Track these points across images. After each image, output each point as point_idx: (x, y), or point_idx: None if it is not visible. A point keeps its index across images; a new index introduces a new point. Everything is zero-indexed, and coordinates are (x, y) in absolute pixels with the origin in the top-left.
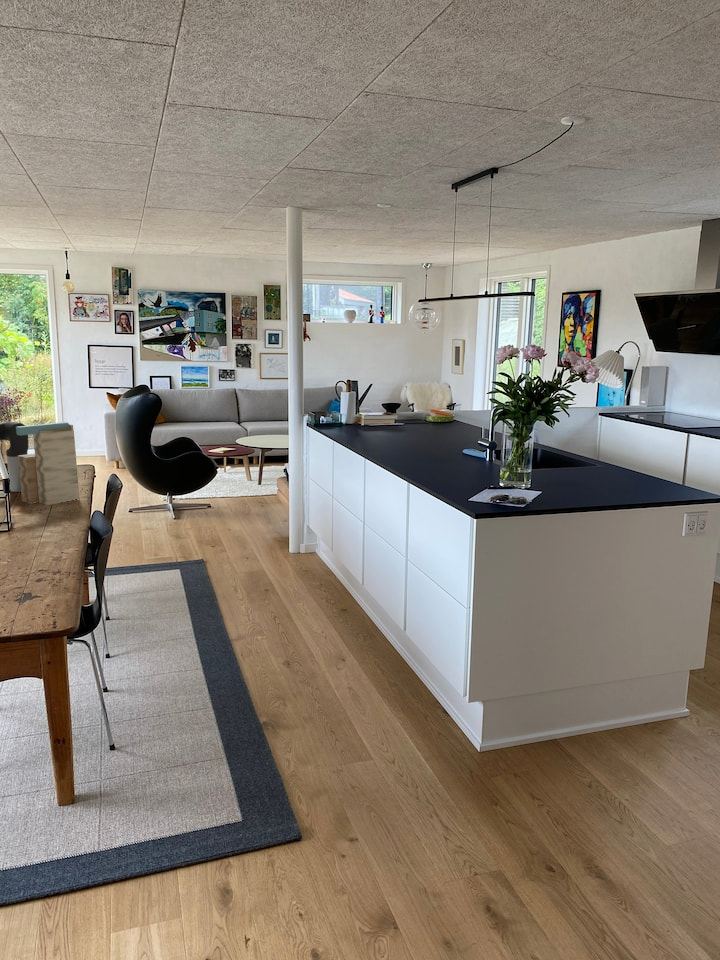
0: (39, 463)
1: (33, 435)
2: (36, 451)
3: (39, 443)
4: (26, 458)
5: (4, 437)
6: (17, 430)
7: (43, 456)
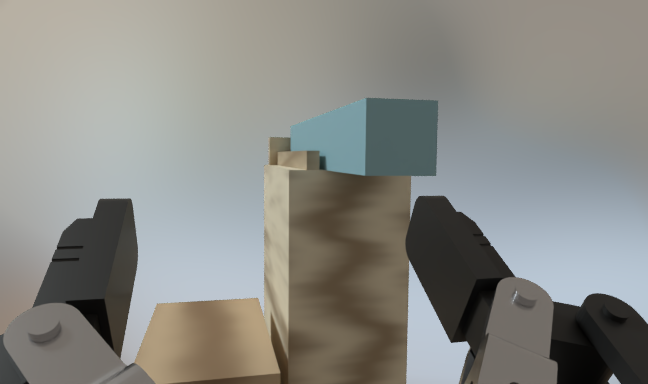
0: (344, 379)
1: (293, 192)
2: (316, 302)
3: (373, 239)
4: (279, 378)
5: None
6: (390, 132)
7: (406, 320)
